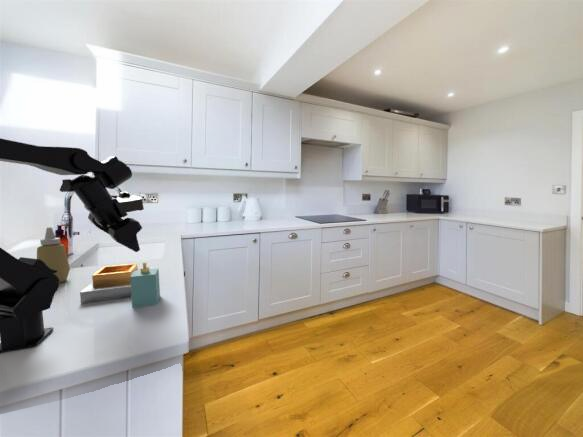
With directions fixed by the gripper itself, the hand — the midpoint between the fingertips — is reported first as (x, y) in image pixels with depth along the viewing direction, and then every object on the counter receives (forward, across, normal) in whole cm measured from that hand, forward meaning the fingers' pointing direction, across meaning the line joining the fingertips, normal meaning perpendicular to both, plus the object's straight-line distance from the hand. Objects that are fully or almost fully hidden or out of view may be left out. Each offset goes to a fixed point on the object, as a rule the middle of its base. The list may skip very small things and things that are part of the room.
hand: (130, 245), depth 70 cm
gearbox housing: (+13, +6, +8) cm, 17 cm away
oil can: (+11, -11, +6) cm, 16 cm away
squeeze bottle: (+12, +29, +20) cm, 37 cm away
